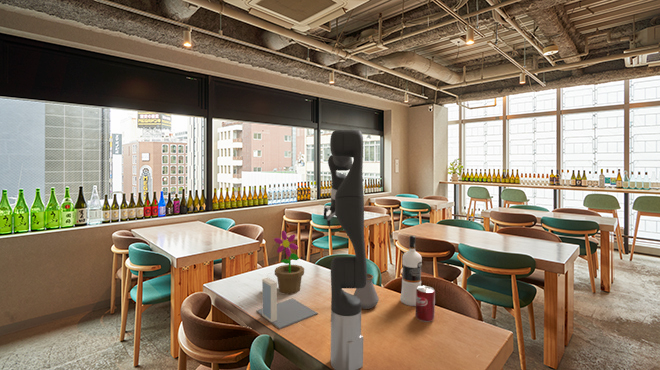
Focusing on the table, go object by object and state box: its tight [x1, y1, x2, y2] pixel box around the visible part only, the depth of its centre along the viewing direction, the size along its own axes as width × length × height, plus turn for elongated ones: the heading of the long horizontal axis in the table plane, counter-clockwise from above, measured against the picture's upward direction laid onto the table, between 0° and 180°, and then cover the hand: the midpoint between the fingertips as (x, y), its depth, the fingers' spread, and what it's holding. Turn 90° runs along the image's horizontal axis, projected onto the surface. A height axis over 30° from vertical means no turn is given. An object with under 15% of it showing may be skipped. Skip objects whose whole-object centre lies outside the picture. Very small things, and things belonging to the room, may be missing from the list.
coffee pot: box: [353, 273, 380, 310], centre depth 138 cm, size 21×12×15 cm, turn 58°
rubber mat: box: [256, 297, 318, 330], centre depth 128 cm, size 18×18×1 cm
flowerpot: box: [273, 230, 305, 295], centre depth 150 cm, size 14×14×30 cm
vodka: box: [399, 235, 423, 307], centre depth 138 cm, size 9×9×30 cm
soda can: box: [414, 285, 436, 323], centre depth 124 cm, size 7×7×12 cm
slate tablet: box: [261, 277, 278, 323], centre depth 122 cm, size 7×3×15 cm, turn 41°
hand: (338, 226), depth 150 cm, fingers open, 8 cm apart
